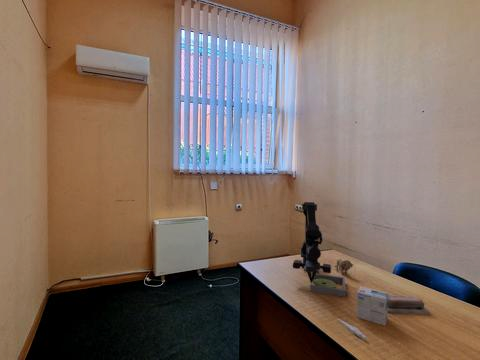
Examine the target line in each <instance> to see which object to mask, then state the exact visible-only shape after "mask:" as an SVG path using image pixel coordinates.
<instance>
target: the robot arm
mask: <svg viewBox="0 0 480 360" xmlns="http://www.w3.org/2000/svg"><path fill="white" fill-rule="evenodd" d="M301 210H302V212H303V215H304V216H305V218H304V219H305V220H304V222H305V223H304V224H305V225H304V240H303V242H302V243H301V247H300V258H302V260H301V259H300V260H299V259H295V260H293V263H292V269H297V270H298V269H299V270H300V269H301V268H304V269H303V271H304V272H306V274H307V276H308V279H309V282H310V283H311V284H313V280H314V276H315V274H320V273H319V272H320V270H322V272H323V273H325V274H331V273H332V265H331V264H330V263H323V264H322V265H321V262H319V259H320V258H321V255H322V252H321V249H320V247H319V245H322V242H323V234H322V231H321V230H320V226H319V225H318V224H317V220H316V219H317V217H316V211H318V204H316V202H315V201H314V202H313V201H312V202H311V201H304V202H303V203H302V204H301Z"/></svg>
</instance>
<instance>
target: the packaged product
mask: <svg viewBox="0 0 480 360" xmlns="http://www.w3.org/2000/svg"><path fill="white" fill-rule="evenodd" d="M387 313H393V314H394V313H396V314H409V315H411V314H412V315H431V311H430V310H429V309H427V308H426V307H425V302H424V301H423V299H421V298H419V297H418V296H417V297H416V296H411V295H410V296H409V295H408V296H407V295H396V294H395V295H392V294H390V295H389V294H388V310H387Z"/></svg>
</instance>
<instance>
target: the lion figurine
mask: <svg viewBox="0 0 480 360" xmlns="http://www.w3.org/2000/svg"><path fill="white" fill-rule="evenodd" d="M353 267H354V264H353V263H352V262H351V260H349V259H346V260H343V259H341V258H339V259H337V261H336V265H334V268H336V269H335V270H336V272H338V271H339V270H341V276H347V275H348V273H347V272H348V271H349V270H350V269H351V268H353Z"/></svg>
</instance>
